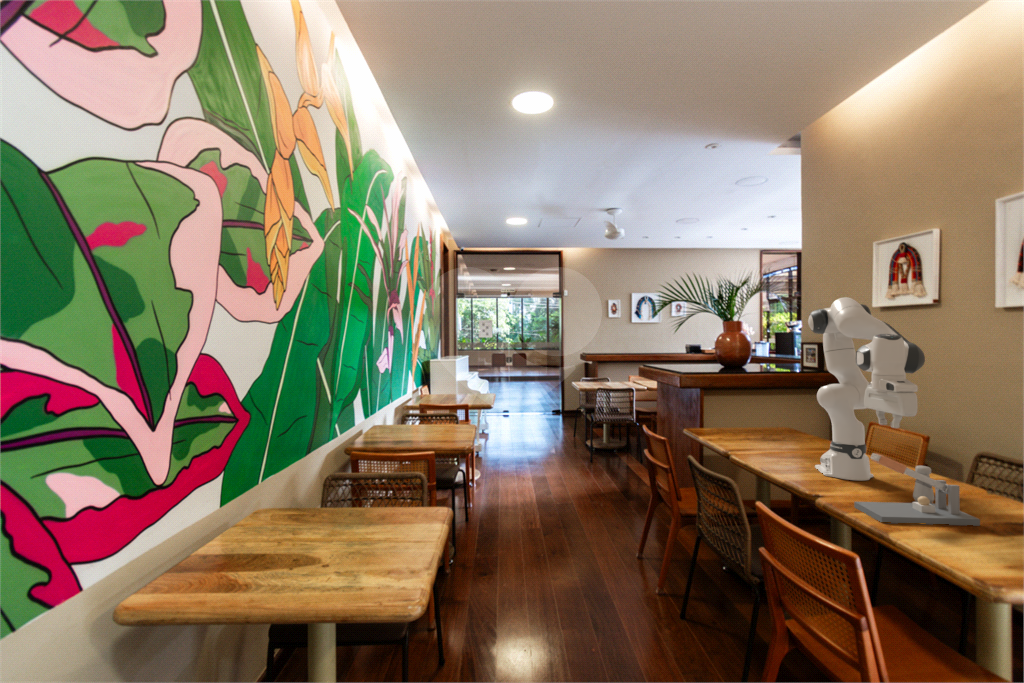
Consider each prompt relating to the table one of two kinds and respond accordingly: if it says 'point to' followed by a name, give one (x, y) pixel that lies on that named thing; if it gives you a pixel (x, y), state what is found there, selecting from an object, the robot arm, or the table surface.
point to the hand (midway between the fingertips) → (888, 426)
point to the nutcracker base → (913, 514)
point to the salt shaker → (920, 489)
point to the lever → (909, 472)
